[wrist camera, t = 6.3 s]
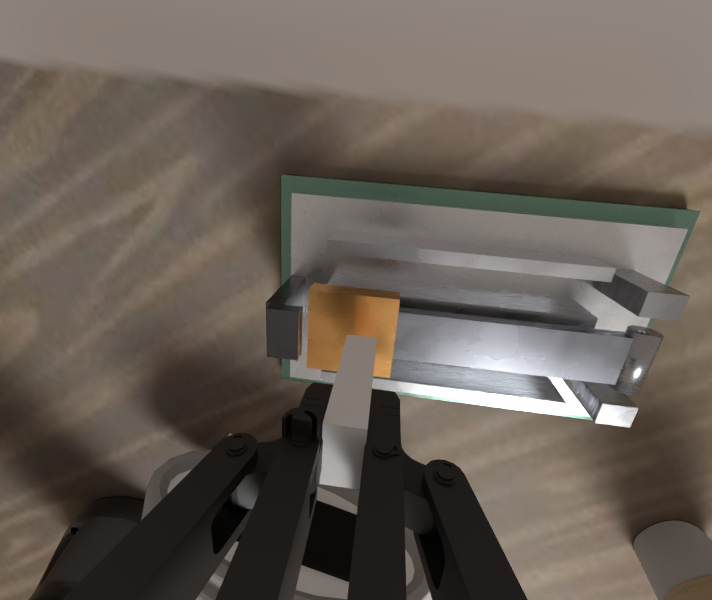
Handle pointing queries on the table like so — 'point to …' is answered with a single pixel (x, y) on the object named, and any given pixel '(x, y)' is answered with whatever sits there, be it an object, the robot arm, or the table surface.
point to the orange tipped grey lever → (473, 340)
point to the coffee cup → (676, 560)
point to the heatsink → (478, 277)
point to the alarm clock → (324, 543)
